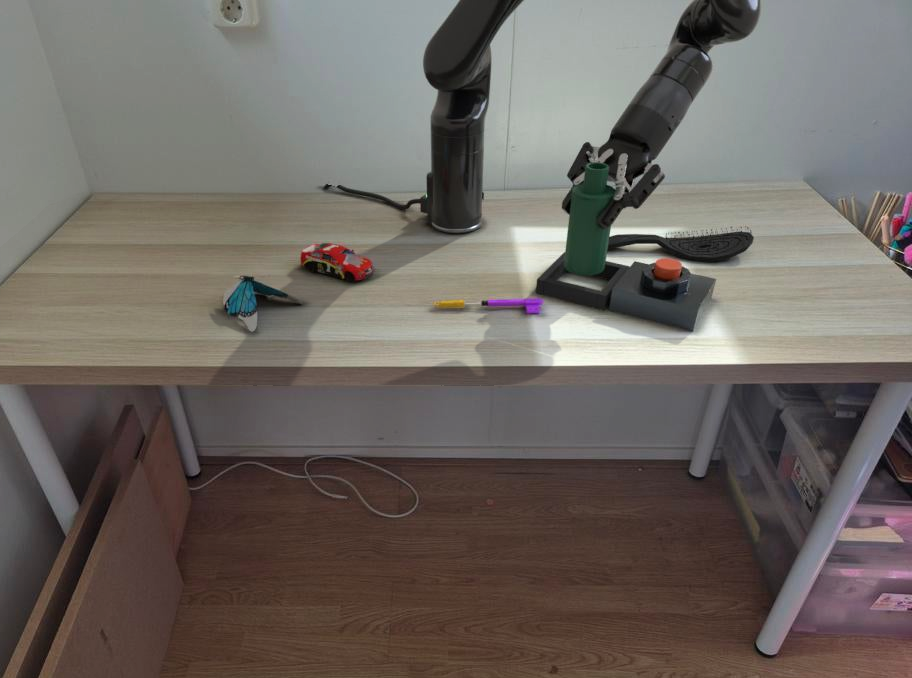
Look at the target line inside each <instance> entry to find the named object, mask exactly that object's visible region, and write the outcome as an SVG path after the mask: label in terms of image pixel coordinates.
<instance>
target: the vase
mask: <svg viewBox="0 0 912 678" xmlns="http://www.w3.org/2000/svg"><path fill="white" fill-rule="evenodd" d="M608 172H609V166H608V165H607V164H605V163H599V162H592V163H588V164H587V165H586V167H585V175H584V183H583V184H579V185H576V186H575V187H573V189H572V198H571V206H570V215H569V214H568V215H569V216H568V225H567V226H568V227H567V234H566V242H565V251H564V252H565V259H564V267H565V269H566V271H567V272H569V273H571V274H574V275H578V276H586V277H587V276H591V275H596V274H599V273H601V272H602V271H603V270H604V267H605V262H606V261H607V255H608V250H609V249H608V243H609V237H610V236H611V228H612V225H611V226H610V227H607V228H606V229H602V228H600V227H599V226H598V225H597V223H596V220H597V218H598V217H599V215H600V214H601V212H602V211H603V210H604V208H605V207H606V205H607V204H608V202H609V201H610V199H611V200H614V193H615V187H613V186H611V185H608V181H607V179H608Z"/></svg>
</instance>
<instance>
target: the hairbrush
mask: <svg viewBox="0 0 912 678" xmlns="http://www.w3.org/2000/svg"><path fill="white" fill-rule="evenodd" d="M730 228H731V229H730V232H729V231H728V230H727V229H728V228H725V231H726V232H724V233H723V231H724V230H722V229H723V228H722V227H721V228H720V231H721V233H719V232H718V230H717V228H716V229H715V232H713V229H712V228H711V229H710V231H711V233H710V234H709V232H708V230H707V229H705V235H704V232H703V230H700V232H701V234H700V235H699V233H697V232H698V230H691V233H695V231H696V236H695V235H692V236H690V235H691V234H690V233H689V231H685V232H684V231H682V233H681V232H680V231H678V232H677V231H675V232H674V234H676V232H677V233H678V234H676V235H673V236H672V234H673V232H671V233H670V232H668V233H665V236H661V235H658V234H646V233H645V234H642V233H627V234H626V233H625V234H614V235H610V236H609V243H608V249H607V250H611V249H616V248H621V247H627V246H632V245H658V246H659V247H660V248H663V249H664V250H666V251H667V252H669V253H671V254H672V255H675V256H677V257H679V258H680V259H685V260H689V261H693V262H698V263H699V262H700V263H715V262H719V261H726V260H730V259H732V258H734V257H736V256H738V255H740V254H743V253H745V252H746V251H747V250H748V249H749V248H750V247H751V246H752V244H753V242H754V240H755V238H754V235H753V234H752V232H753V231H752V229H750V227H747V226H746V225H745V231H742V230H739V229H738V228H736V230H735V229H733V226H730ZM742 228H743V226H740V229H742ZM680 233H681V234H680ZM684 233H686V235H687V236H686V235H685V234H684ZM714 233H715V234H714ZM670 234H671V236H670V237H669V236H668V235H670Z"/></svg>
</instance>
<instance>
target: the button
mask: <svg viewBox="0 0 912 678" xmlns="http://www.w3.org/2000/svg"><path fill="white" fill-rule="evenodd" d="M654 263H655V267H654V272H653V274H654V275H655V276H657V277H659V278H663V279H677V278H679V277H680V273H681V268H682V266H683V264H682V262H681V261H679V260H677V259H675V258H669V257H663V258H658V259H657V260H655V262H654Z"/></svg>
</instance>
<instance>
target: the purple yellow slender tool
mask: <svg viewBox="0 0 912 678" xmlns="http://www.w3.org/2000/svg"><path fill="white" fill-rule="evenodd" d="M465 305H481V307H524V309H525V311H526V314H540V312H541V311H540V310H541V309H540V306H542V305H544V299H542V298H540V297H532V298H531V297H530V298H529V297H527V298H526V297H525V298H510V299H509V298H508V299H486V300H485V299H483V300H481V302H465V299H456V300H440V301H434V307H440V308H458V309H459V308H462V309H463V308H465Z"/></svg>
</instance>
